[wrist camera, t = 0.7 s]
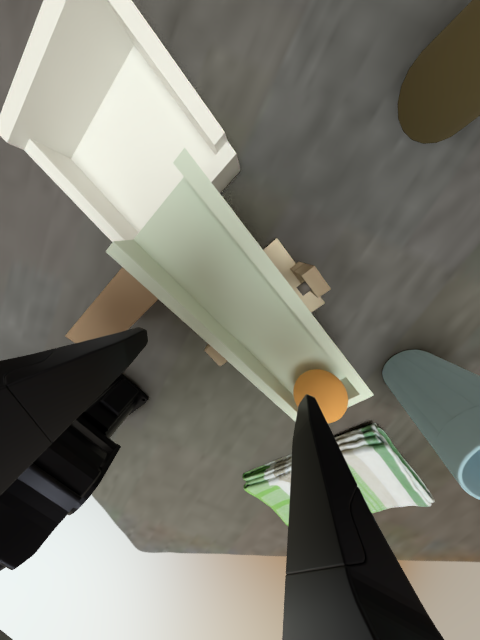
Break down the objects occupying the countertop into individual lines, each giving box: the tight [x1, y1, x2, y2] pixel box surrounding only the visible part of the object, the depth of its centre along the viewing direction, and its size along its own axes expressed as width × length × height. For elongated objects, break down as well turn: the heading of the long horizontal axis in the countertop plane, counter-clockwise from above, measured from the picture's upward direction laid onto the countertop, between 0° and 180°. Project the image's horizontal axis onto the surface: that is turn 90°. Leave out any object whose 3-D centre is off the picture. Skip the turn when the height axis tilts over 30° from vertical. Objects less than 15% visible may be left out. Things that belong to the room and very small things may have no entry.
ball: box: [293, 369, 348, 423], centre depth 15 cm, size 4×4×4 cm
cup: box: [382, 350, 480, 500], centre depth 16 cm, size 8×8×10 cm
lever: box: [65, 148, 374, 422], centre depth 15 cm, size 16×20×3 cm
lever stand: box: [204, 238, 331, 366], centre depth 17 cm, size 11×8×7 cm
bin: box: [0, 0, 241, 242], centre depth 15 cm, size 12×12×5 cm
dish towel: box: [243, 423, 435, 526], centre depth 28 cm, size 17×23×4 cm
